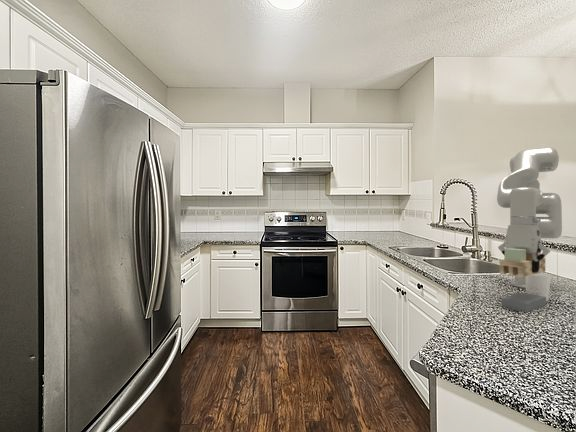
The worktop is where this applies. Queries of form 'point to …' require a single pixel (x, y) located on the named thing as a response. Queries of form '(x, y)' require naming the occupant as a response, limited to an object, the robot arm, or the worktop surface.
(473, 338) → the worktop surface
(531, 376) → the worktop surface
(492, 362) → the worktop surface
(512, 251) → the pale green block
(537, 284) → the white cup
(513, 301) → the dock
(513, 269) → the long beige board
